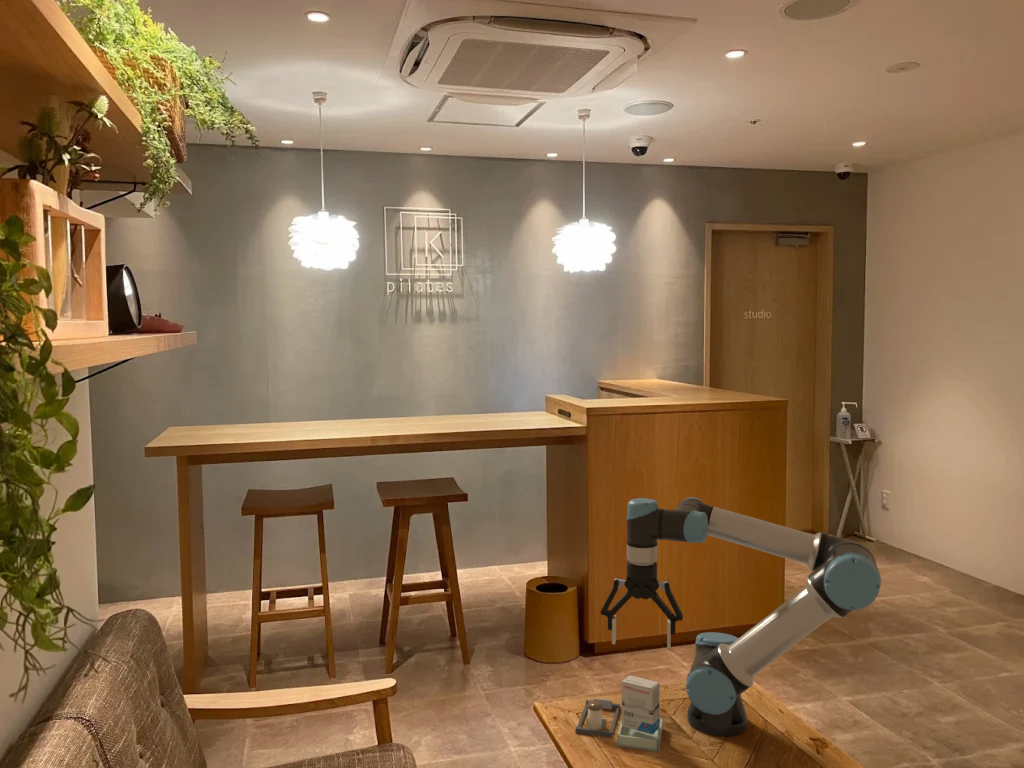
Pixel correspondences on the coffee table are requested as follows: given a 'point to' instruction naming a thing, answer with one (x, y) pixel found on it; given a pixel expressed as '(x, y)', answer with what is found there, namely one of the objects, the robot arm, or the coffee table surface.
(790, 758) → the coffee table surface
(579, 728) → the rail
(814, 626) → the robot arm
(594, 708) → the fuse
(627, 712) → the ink box
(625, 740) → the tray
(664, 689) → the coffee table surface
